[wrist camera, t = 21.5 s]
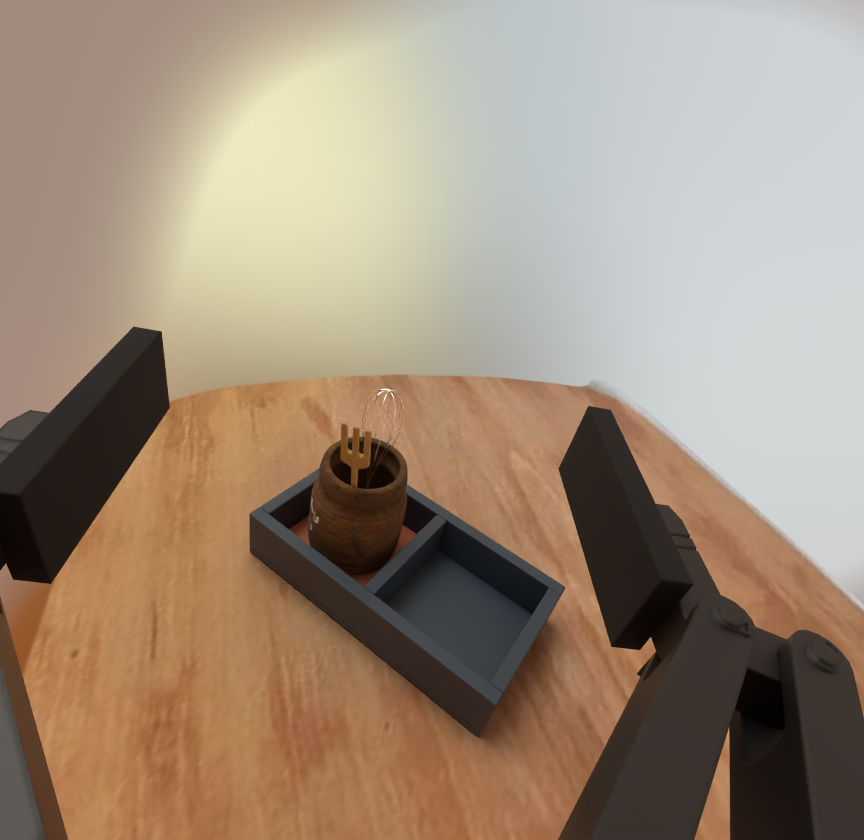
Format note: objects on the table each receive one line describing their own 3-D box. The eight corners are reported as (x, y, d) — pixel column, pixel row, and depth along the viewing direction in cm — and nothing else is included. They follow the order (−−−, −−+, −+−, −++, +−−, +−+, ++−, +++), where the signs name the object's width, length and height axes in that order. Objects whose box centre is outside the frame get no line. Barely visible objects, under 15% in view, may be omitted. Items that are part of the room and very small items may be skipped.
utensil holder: (406, 523, 37) (442, 382, 30) (379, 595, 32) (414, 445, 25) (328, 497, 38) (345, 352, 31) (288, 564, 33) (298, 409, 26)
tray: (478, 737, 27) (496, 705, 25) (249, 551, 34) (249, 513, 32) (547, 619, 34) (566, 586, 32) (345, 482, 40) (350, 447, 38)
